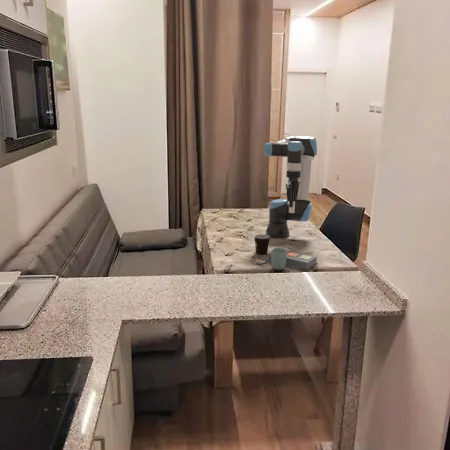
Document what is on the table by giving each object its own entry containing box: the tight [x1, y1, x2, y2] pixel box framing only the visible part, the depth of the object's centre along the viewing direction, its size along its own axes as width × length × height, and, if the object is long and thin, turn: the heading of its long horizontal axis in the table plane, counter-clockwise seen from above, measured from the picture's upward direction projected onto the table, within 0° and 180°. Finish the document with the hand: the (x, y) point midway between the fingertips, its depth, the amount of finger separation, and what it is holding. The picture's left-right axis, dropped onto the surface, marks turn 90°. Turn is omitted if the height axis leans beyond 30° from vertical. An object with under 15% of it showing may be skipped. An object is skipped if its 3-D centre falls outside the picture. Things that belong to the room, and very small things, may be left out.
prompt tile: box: [253, 258, 268, 266], centre depth 241 cm, size 6×5×1 cm
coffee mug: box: [254, 234, 271, 256], centre depth 256 cm, size 12×9×10 cm
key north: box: [298, 255, 313, 261], centre depth 237 cm, size 6×6×4 cm
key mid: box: [287, 252, 300, 258], centre depth 242 cm, size 6×6×4 cm
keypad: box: [267, 249, 318, 271], centre depth 242 cm, size 12×23×4 cm, turn 55°
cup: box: [270, 247, 288, 271], centre depth 231 cm, size 8×8×10 cm
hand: (291, 212), depth 249 cm, fingers closed
